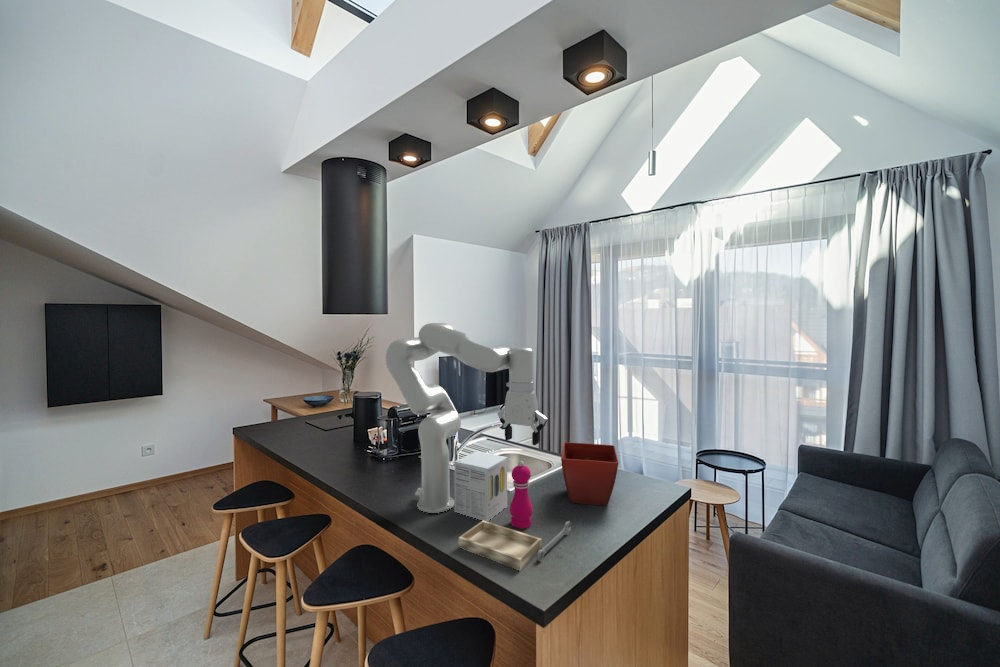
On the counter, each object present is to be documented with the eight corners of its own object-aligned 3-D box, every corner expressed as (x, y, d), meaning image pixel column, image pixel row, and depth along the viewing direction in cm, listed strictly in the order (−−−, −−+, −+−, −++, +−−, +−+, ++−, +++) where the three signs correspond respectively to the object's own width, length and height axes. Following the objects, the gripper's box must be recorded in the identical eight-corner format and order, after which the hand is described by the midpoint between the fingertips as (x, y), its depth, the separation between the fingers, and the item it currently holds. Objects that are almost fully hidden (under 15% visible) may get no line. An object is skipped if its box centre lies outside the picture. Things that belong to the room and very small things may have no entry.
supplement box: (487, 523, 131) (486, 468, 130) (453, 513, 138) (453, 461, 137) (508, 507, 142) (508, 456, 142) (476, 498, 149) (476, 450, 148)
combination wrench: (539, 552, 109) (573, 520, 125) (535, 550, 110) (569, 519, 126) (539, 565, 109) (573, 532, 126) (535, 564, 110) (569, 531, 126)
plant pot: (618, 511, 139) (618, 462, 138) (560, 506, 142) (560, 458, 142) (614, 488, 157) (614, 444, 157) (563, 484, 161) (563, 441, 160)
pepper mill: (504, 523, 131) (504, 461, 130) (520, 516, 136) (520, 455, 135) (521, 532, 125) (521, 466, 125) (537, 523, 130) (537, 461, 130)
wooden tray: (458, 548, 117) (458, 537, 117) (483, 529, 127) (482, 520, 127) (520, 571, 106) (520, 559, 106) (541, 549, 116) (541, 538, 116)
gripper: (491, 386, 130) (492, 440, 131) (540, 391, 121) (541, 449, 122) (504, 383, 137) (504, 435, 137) (552, 387, 127) (552, 442, 128)
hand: (522, 441), depth 129 cm, fingers open, 9 cm apart
